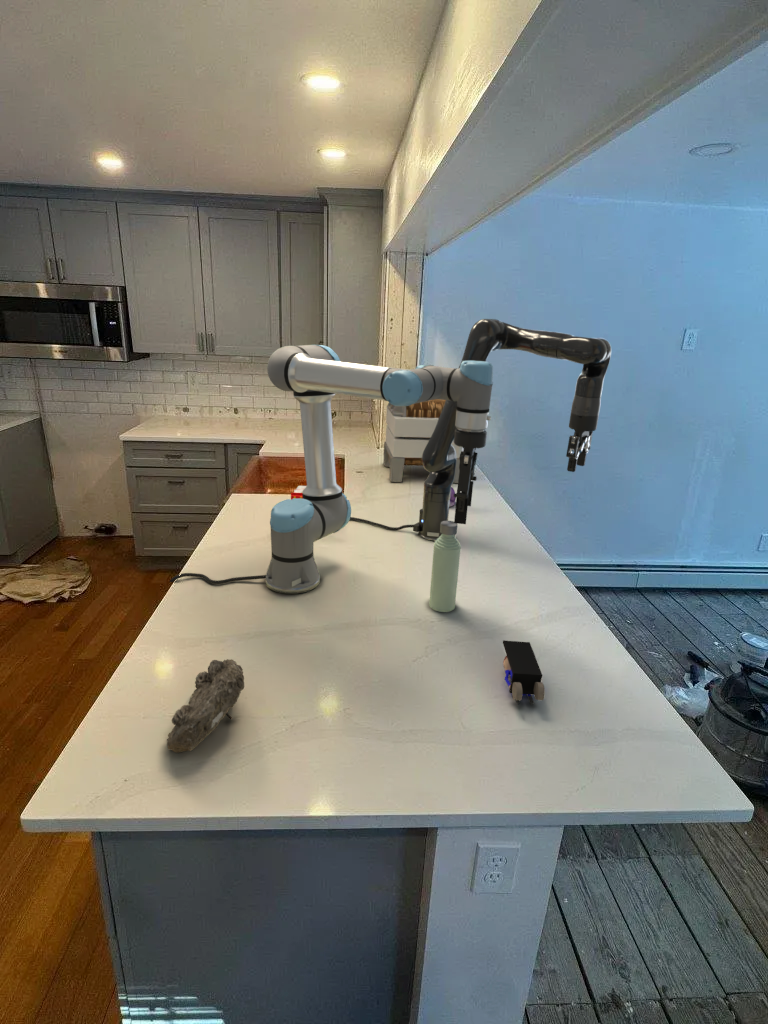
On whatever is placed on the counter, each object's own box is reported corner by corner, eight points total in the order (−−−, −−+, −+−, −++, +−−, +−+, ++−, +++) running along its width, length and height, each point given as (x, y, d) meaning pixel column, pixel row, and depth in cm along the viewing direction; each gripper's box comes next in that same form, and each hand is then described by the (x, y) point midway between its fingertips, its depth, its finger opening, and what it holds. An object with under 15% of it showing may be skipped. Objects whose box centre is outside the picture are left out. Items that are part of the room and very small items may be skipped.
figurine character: (543, 716, 114) (525, 665, 128) (550, 687, 111) (531, 638, 124) (510, 715, 114) (496, 664, 127) (516, 687, 111) (500, 637, 124)
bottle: (441, 614, 148) (448, 531, 140) (423, 603, 153) (430, 523, 145) (460, 607, 152) (468, 526, 144) (442, 597, 157) (449, 518, 149)
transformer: (382, 463, 289) (386, 382, 275) (445, 464, 293) (451, 384, 279) (390, 482, 257) (394, 392, 243) (460, 483, 261) (468, 394, 247)
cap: (448, 536, 143) (448, 527, 142) (436, 531, 146) (437, 522, 145) (460, 533, 145) (461, 524, 144) (448, 527, 148) (449, 519, 147)
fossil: (192, 660, 117) (244, 628, 112) (224, 691, 120) (276, 661, 115) (142, 746, 98) (202, 712, 93) (182, 779, 101) (242, 748, 96)
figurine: (442, 509, 226) (445, 473, 221) (428, 501, 234) (431, 466, 229) (461, 506, 230) (465, 471, 225) (448, 499, 239) (451, 464, 233)
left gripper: (483, 441, 121) (474, 533, 128) (490, 421, 144) (481, 500, 151) (448, 438, 122) (441, 529, 130) (460, 418, 145) (453, 497, 153)
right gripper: (579, 407, 166) (570, 461, 171) (563, 413, 155) (554, 470, 160) (605, 411, 162) (596, 466, 167) (591, 417, 151) (581, 476, 156)
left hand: (462, 514), depth 140 cm, fingers open, 13 cm apart
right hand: (575, 468), depth 164 cm, fingers open, 8 cm apart
